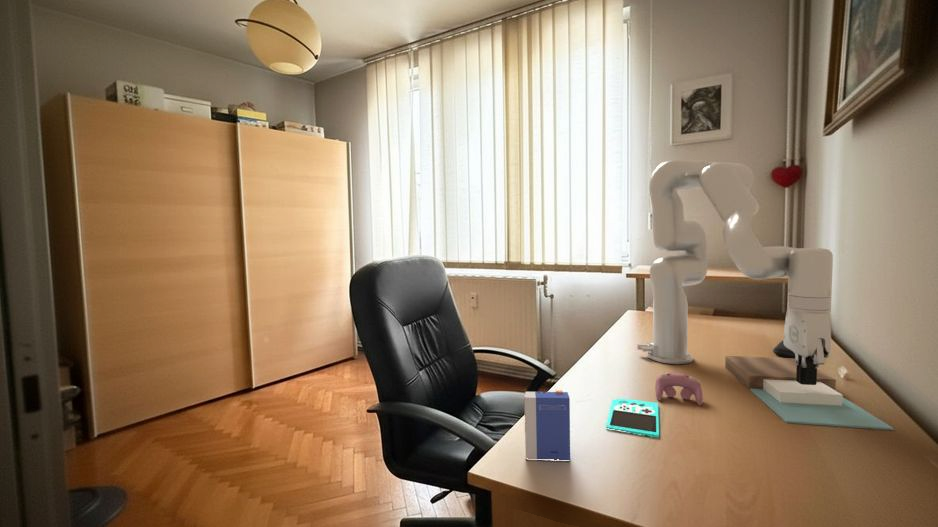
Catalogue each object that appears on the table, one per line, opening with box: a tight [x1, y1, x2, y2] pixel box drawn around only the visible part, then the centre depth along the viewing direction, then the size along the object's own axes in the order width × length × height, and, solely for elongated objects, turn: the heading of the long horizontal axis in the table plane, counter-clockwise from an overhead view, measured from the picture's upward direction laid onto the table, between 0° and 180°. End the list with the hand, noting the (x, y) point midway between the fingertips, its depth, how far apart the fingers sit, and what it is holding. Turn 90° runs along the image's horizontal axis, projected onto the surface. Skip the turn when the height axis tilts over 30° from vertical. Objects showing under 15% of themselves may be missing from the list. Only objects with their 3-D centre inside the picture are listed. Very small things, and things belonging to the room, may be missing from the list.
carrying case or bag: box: [772, 340, 814, 358], centre depth 127 cm, size 11×3×15 cm
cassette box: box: [763, 379, 844, 406], centre depth 95 cm, size 12×8×2 cm, turn 77°
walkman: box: [523, 389, 571, 461], centre depth 73 cm, size 8×3×12 cm, turn 84°
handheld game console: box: [605, 398, 660, 438], centre depth 88 cm, size 10×16×1 cm, turn 156°
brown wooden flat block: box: [724, 355, 837, 391], centre depth 107 cm, size 18×16×4 cm
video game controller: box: [654, 372, 704, 407], centre depth 97 cm, size 10×5×7 cm, turn 66°
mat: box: [749, 388, 895, 431], centre depth 90 cm, size 18×18×1 cm
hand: (806, 383), depth 93 cm, fingers closed
